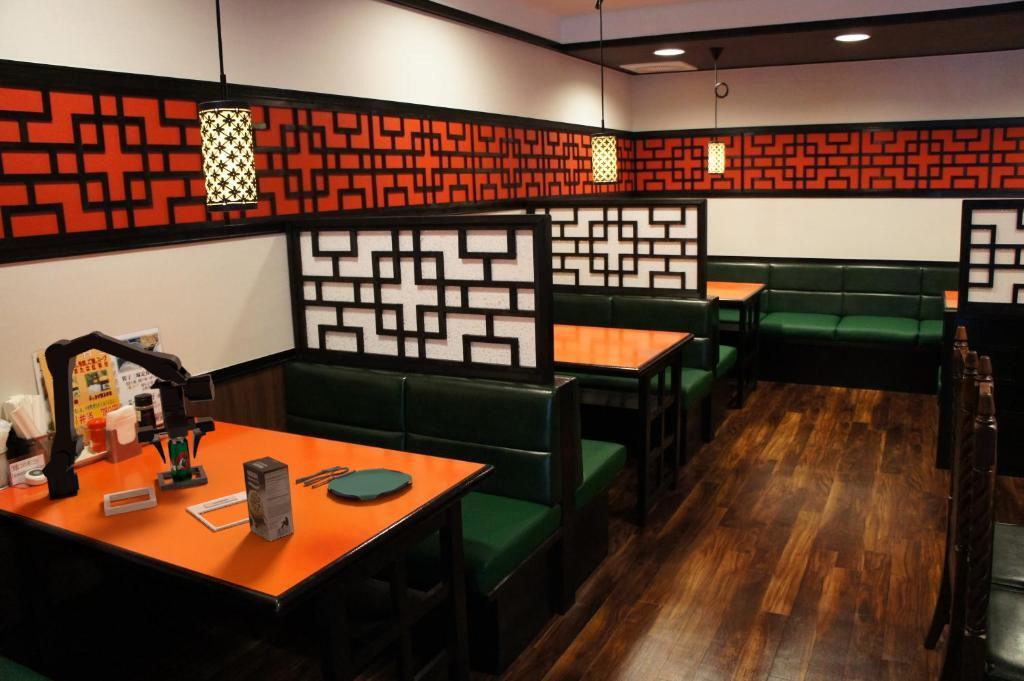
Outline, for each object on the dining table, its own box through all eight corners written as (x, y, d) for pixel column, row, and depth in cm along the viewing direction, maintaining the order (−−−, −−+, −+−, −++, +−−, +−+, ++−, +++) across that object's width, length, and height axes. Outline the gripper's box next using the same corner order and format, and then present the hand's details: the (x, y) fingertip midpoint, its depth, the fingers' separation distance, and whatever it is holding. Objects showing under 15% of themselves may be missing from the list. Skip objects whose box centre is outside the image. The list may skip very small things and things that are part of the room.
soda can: (196, 477, 221) (190, 434, 218) (187, 484, 216) (181, 440, 213) (178, 477, 221) (172, 434, 219) (168, 484, 216) (163, 440, 214)
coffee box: (248, 531, 184) (241, 462, 181) (275, 522, 189) (268, 454, 186) (269, 542, 178) (261, 471, 175) (295, 533, 182) (288, 463, 179)
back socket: (161, 491, 211) (160, 486, 211) (157, 478, 221) (156, 473, 221) (207, 482, 216) (207, 477, 216) (202, 470, 226) (201, 465, 226)
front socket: (105, 516, 196) (104, 510, 196) (104, 500, 206) (103, 494, 206) (157, 506, 201) (156, 500, 201) (153, 491, 211) (153, 485, 211)
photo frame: (244, 490, 208) (275, 510, 194) (245, 494, 208) (276, 514, 194) (186, 506, 198) (214, 528, 185) (186, 511, 199) (214, 533, 185)
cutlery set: (368, 510, 194) (367, 500, 194) (288, 487, 212) (287, 478, 212) (426, 484, 210) (425, 475, 209) (347, 465, 228) (346, 457, 227)
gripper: (135, 416, 203) (143, 476, 206) (214, 404, 211) (221, 462, 214) (133, 406, 213) (140, 464, 216) (209, 395, 221) (215, 451, 224)
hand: (179, 460), depth 217 cm, fingers open, 7 cm apart
